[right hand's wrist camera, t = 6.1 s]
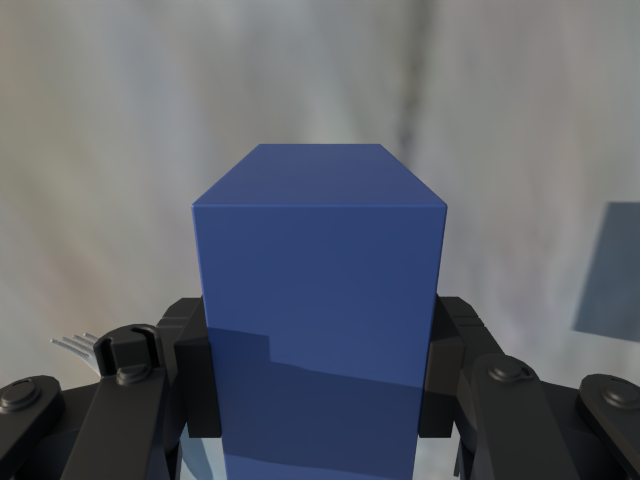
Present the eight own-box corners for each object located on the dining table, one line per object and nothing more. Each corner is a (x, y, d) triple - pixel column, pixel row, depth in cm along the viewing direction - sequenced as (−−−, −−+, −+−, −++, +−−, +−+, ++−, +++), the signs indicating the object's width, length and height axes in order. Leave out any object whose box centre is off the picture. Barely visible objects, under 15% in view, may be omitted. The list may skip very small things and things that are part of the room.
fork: (158, 487, 30) (147, 513, 28) (67, 321, 24) (46, 341, 22) (189, 482, 30) (180, 508, 28) (105, 314, 24) (87, 333, 22)
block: (258, 143, 15) (189, 204, 7) (380, 143, 15) (449, 204, 7) (269, 332, 18) (231, 517, 10) (369, 332, 18) (407, 517, 10)
